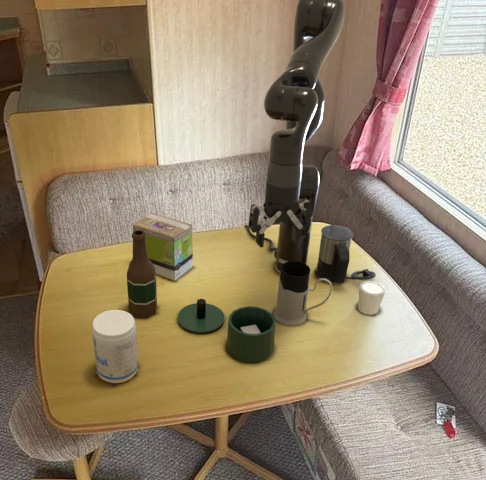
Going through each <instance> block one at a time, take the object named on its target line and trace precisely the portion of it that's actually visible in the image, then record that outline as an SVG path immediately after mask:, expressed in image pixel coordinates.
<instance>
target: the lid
mask: <svg viewBox="0 0 486 480" xmlns="http://www.w3.org/2000/svg"><path fill="white" fill-rule="evenodd" d="M225 318H226V317H225V313H224V312H223V310H222V309H221V308H219V307H218V306H217V305H214V304H211V303H207V300H206V299H204V298H198V299H197V300H196V302H195V303H190V304H187V305H185V306H184V307H183V308H181V309H180V310H179V311H178V313H177V322H178V324H179V325H180V326H181V327H182V328H183V329H184V330H186V331H188V332H192V333H195V334H196V333H197V334H205V333H211V332H214V331H217V330H218V329H220V328H221V327H222V326H223V324H224V322H225Z"/></svg>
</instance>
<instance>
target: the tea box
mask: <svg viewBox="0 0 486 480" xmlns="http://www.w3.org/2000/svg"><path fill="white" fill-rule="evenodd" d="M136 230H143V231H144V232H145V233H146V238H145V239H146V247H147V255H148V258H149V260H150V261H151V262H152V263H153V265H154V267H155V272H156V275H158V276H161V277H163V278H166V279H169V280H172V281H177V280H178V279H180V277H182V276H183V275H185V274H186V273H187V272H188V271H190V270H191V269H192V268H193V265H194V263H193V259H194V256H193V255H194V254H193V253H194V252H193V251H194V250H193V248H194V247H193V224H191V223H188V222H184V221H181V220H177V219H174V218H171V217H168V216H164V215H161V214H158V213H155V212H152V213H150V214H148V215H147V216H145V217H143V218H141V219H139V220H138V221H136V222H135V223H133V224H132V232H133V231H136Z"/></svg>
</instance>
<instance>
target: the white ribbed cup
mask: <svg viewBox="0 0 486 480" xmlns="http://www.w3.org/2000/svg"><path fill="white" fill-rule="evenodd" d="M358 288H359V289H358V297H357V298H358V300H357V309H358V311H359V312H361V313H362V314H364V315H369V316H372V315H373V316H374V315H376V314H378V313H379V310H380V308H381V305H382V302H383V298H384V296H385V293H386V287H385V286H384V285H383V284H381V283H380V282H377V281H373V280H365V281H362V282H361V283H359V287H358Z"/></svg>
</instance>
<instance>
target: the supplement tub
mask: <svg viewBox="0 0 486 480" xmlns="http://www.w3.org/2000/svg"><path fill="white" fill-rule="evenodd" d="M91 330H92V341H93V348H94V350H93V351H94V358H95V359H94V360H95V367H96V374H97V375H98V377H99V378H100V379H101V380H102V381H104V382H106V383H110V384H120V383H125V382H127V381H129V380H131V379H132V378H133V377H134V376H135V375H137V372H138V368H139V367H138V365H139V364H138V347H137V327H136V321H135V318H134V315H133V314H132V313H130V312H128V311H126V310H121V309H110V310H106V311H102V312H100V313H98V314H97V316H95V317H94V319H93V321H92V329H91Z"/></svg>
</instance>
